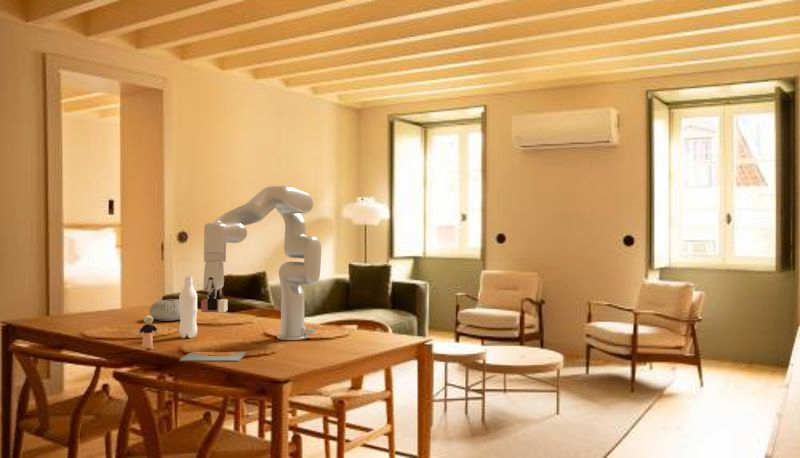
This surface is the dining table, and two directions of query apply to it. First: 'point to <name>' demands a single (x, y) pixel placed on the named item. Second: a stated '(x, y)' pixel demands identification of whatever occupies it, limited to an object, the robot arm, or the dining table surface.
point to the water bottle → (188, 310)
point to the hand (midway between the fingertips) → (214, 308)
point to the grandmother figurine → (147, 333)
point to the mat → (212, 357)
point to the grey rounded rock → (166, 310)
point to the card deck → (221, 305)
